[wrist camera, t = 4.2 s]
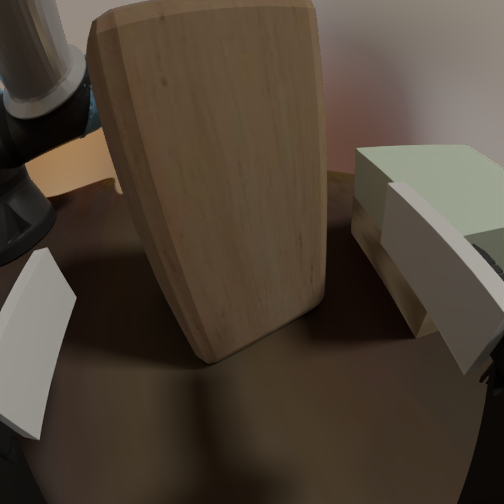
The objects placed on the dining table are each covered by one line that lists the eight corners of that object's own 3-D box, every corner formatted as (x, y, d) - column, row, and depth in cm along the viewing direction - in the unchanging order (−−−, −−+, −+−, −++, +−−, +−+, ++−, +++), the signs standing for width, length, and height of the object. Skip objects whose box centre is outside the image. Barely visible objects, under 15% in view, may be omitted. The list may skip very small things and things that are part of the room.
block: (159, 287, 26) (82, 48, 13) (258, 241, 29) (224, 17, 17) (206, 374, 18) (84, 10, 6) (329, 305, 22) (321, -10, 10)
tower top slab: (354, 195, 26) (355, 148, 23) (460, 184, 26) (466, 144, 23) (429, 300, 16) (450, 238, 13) (541, 261, 16) (560, 214, 13)
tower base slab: (350, 236, 29) (352, 195, 26) (450, 218, 29) (457, 182, 26) (413, 342, 18) (432, 298, 16) (521, 296, 19) (540, 257, 16)
